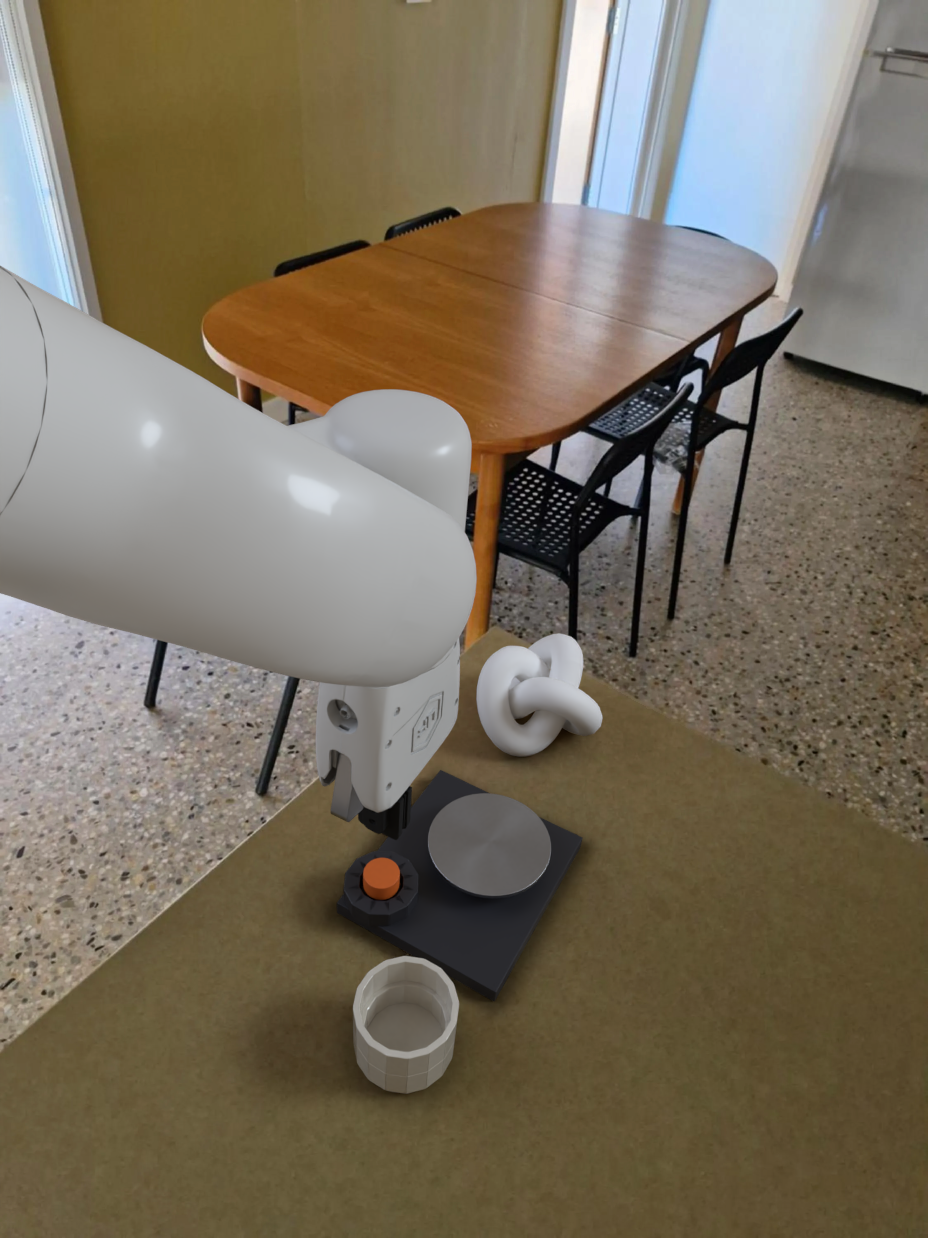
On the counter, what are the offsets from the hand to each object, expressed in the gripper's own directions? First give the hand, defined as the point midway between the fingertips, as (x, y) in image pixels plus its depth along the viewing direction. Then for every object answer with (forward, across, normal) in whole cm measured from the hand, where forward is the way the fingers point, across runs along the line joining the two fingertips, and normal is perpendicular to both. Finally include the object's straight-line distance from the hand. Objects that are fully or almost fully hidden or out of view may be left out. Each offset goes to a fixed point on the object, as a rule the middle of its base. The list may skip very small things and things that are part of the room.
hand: (384, 823), depth 61 cm
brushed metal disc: (+10, +9, -5) cm, 14 cm away
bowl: (+13, -7, -6) cm, 16 cm away
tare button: (+10, +2, +1) cm, 10 cm away
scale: (+13, +7, -4) cm, 15 cm away
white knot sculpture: (+13, +25, -1) cm, 28 cm away
